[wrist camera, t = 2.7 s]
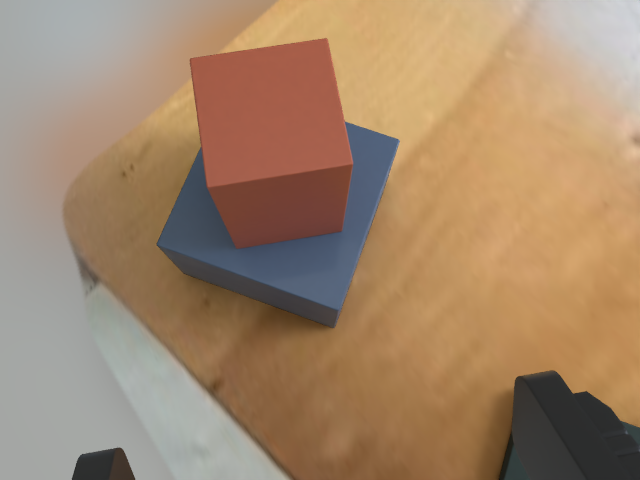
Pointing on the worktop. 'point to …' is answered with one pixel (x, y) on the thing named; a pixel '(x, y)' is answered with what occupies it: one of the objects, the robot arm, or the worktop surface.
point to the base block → (287, 256)
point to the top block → (273, 141)
